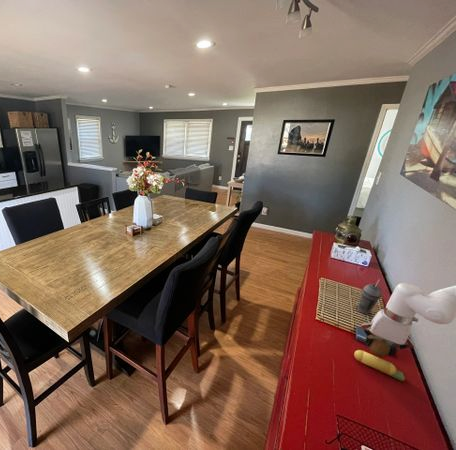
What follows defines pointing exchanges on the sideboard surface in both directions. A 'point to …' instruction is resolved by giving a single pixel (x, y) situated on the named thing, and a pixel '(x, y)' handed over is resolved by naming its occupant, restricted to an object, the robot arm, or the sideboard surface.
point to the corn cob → (378, 364)
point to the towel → (362, 335)
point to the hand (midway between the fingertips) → (378, 348)
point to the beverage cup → (369, 297)
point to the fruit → (379, 346)
